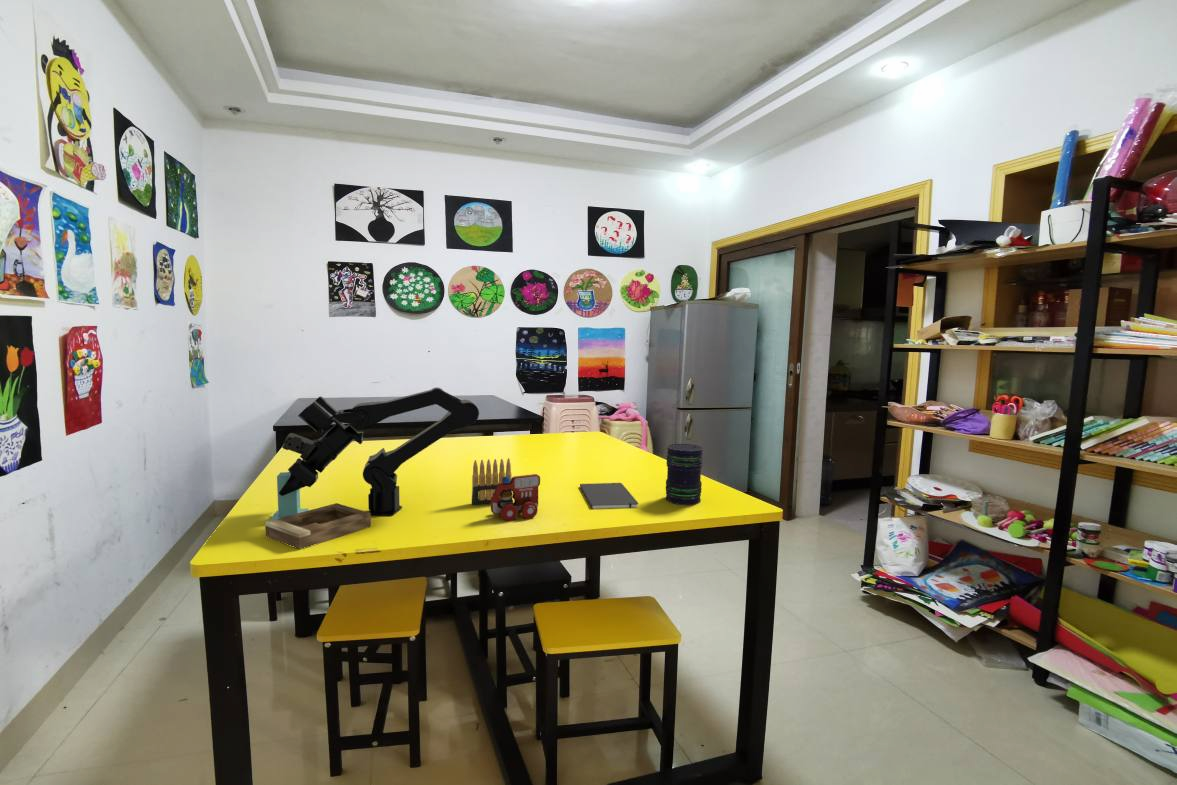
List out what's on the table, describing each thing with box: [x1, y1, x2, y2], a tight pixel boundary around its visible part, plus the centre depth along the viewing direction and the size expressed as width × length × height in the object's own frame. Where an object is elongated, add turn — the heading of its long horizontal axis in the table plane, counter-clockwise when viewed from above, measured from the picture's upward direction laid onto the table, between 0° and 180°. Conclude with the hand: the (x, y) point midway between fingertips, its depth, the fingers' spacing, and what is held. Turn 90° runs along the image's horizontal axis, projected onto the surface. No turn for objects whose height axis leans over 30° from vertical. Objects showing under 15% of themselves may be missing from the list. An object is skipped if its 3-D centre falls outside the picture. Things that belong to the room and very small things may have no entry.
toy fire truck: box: [490, 473, 541, 522], centre depth 138 cm, size 7×12×10 cm, turn 113°
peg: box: [269, 471, 309, 521], centre depth 133 cm, size 7×7×11 cm
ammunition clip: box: [471, 458, 513, 506], centre depth 148 cm, size 11×2×12 cm, turn 109°
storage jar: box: [665, 443, 704, 506], centre depth 154 cm, size 10×10×15 cm
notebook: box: [579, 482, 639, 510], centre depth 157 cm, size 13×2×21 cm
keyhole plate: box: [264, 502, 372, 550], centre depth 125 cm, size 17×13×3 cm
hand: (282, 492), depth 132 cm, fingers closed on peg, 4 cm apart
